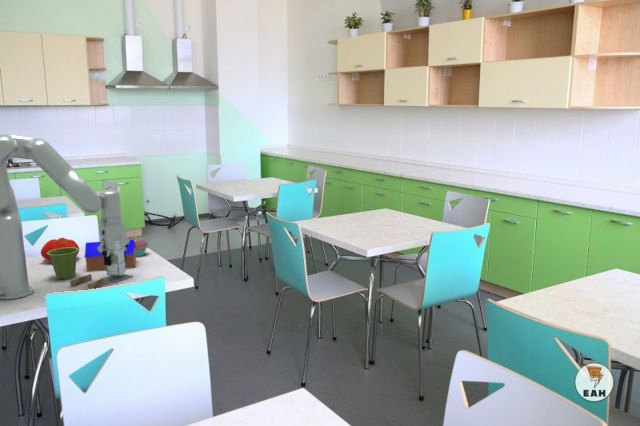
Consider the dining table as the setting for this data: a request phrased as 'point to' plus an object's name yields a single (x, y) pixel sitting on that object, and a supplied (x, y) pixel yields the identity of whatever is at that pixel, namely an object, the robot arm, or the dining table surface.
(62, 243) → the tomato
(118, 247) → the syrup box
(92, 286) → the rails
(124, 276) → the pad
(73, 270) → the plant pot
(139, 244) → the cupcake
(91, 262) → the house
